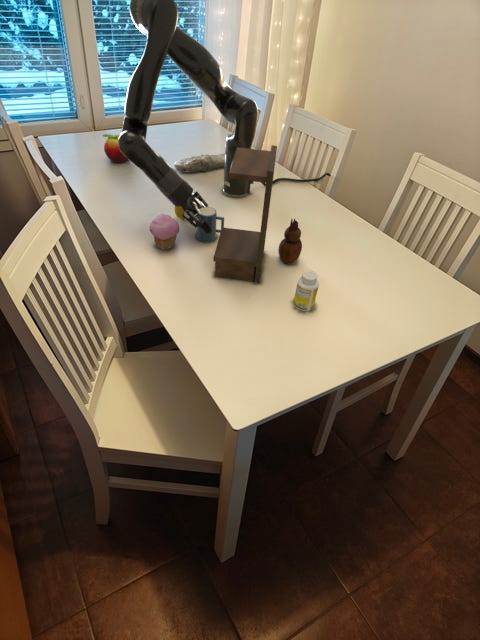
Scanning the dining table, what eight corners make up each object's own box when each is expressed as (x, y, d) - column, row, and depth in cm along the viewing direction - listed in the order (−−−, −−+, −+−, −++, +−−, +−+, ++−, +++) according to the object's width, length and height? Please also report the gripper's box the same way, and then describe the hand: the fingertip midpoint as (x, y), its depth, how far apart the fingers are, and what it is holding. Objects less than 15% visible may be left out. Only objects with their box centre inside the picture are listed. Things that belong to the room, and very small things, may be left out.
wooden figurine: (283, 268, 131) (291, 223, 121) (273, 257, 135) (280, 213, 124) (302, 263, 133) (311, 219, 123) (292, 253, 137) (300, 209, 127)
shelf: (212, 277, 125) (216, 164, 103) (220, 246, 137) (226, 140, 115) (259, 283, 125) (273, 171, 102) (263, 252, 137) (277, 145, 114)
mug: (195, 240, 139) (195, 214, 132) (198, 230, 143) (199, 205, 137) (221, 243, 138) (223, 218, 132) (224, 233, 143) (225, 208, 137)
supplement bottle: (309, 297, 122) (316, 267, 115) (316, 310, 118) (324, 280, 111) (290, 299, 120) (296, 269, 113) (297, 313, 116) (303, 282, 109)
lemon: (188, 225, 145) (188, 203, 140) (172, 222, 146) (172, 200, 140) (193, 217, 149) (193, 195, 144) (178, 214, 150) (177, 192, 144)
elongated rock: (257, 167, 185) (245, 159, 192) (258, 154, 182) (246, 147, 189) (180, 175, 170) (170, 166, 177) (180, 162, 167) (170, 153, 173)
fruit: (129, 166, 175) (127, 140, 168) (102, 164, 175) (98, 138, 168) (135, 155, 183) (132, 130, 176) (109, 153, 182) (105, 128, 176)
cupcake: (168, 235, 140) (167, 207, 133) (185, 247, 135) (185, 218, 129) (145, 245, 135) (142, 216, 128) (162, 257, 130) (160, 228, 124)
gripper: (177, 190, 123) (217, 232, 131) (187, 169, 134) (224, 209, 141) (159, 205, 127) (199, 245, 135) (171, 183, 138) (207, 221, 145)
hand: (212, 226), depth 138 cm, fingers closed on mug, 6 cm apart
